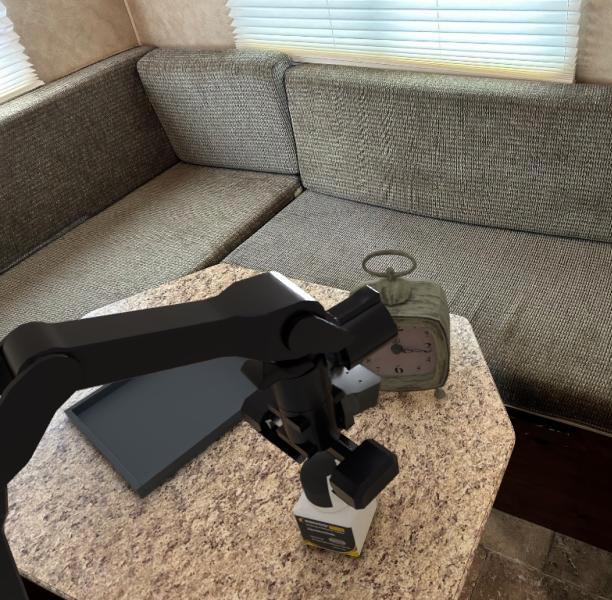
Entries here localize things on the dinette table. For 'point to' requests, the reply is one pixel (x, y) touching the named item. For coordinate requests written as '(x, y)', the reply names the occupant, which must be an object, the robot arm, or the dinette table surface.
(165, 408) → the tray
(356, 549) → the medicine bottle
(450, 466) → the dinette table surface
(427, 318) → the tabletop clock
